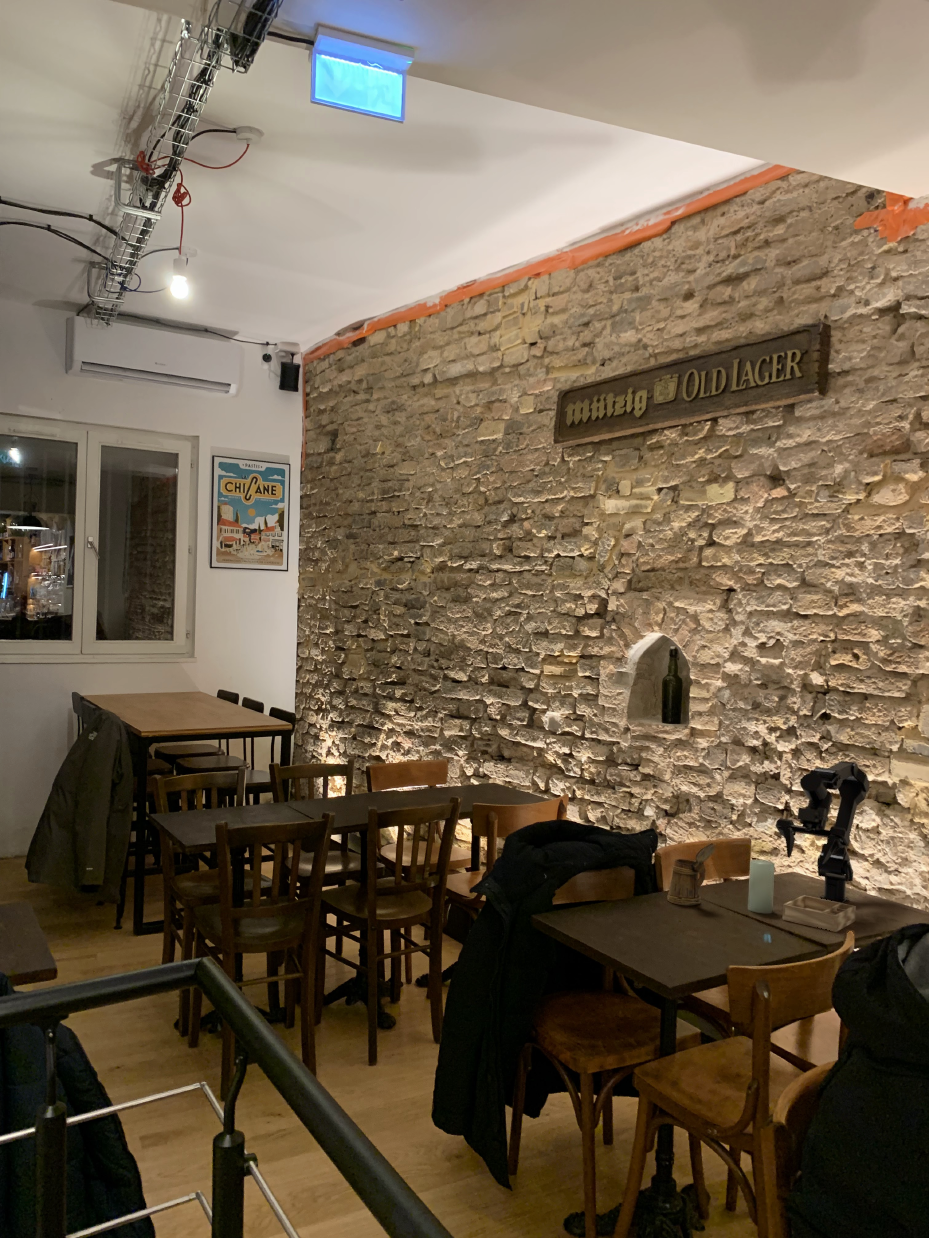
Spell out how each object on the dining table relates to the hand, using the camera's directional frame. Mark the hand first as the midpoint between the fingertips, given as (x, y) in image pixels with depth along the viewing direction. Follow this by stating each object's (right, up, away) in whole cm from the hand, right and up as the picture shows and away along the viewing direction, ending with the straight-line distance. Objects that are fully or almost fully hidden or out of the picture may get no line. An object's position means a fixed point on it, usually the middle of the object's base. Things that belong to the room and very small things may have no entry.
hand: (805, 860), depth 259 cm
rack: (+2, -15, -4) cm, 16 cm away
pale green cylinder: (-11, -15, +3) cm, 19 cm away
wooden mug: (-30, -14, +6) cm, 33 cm away
